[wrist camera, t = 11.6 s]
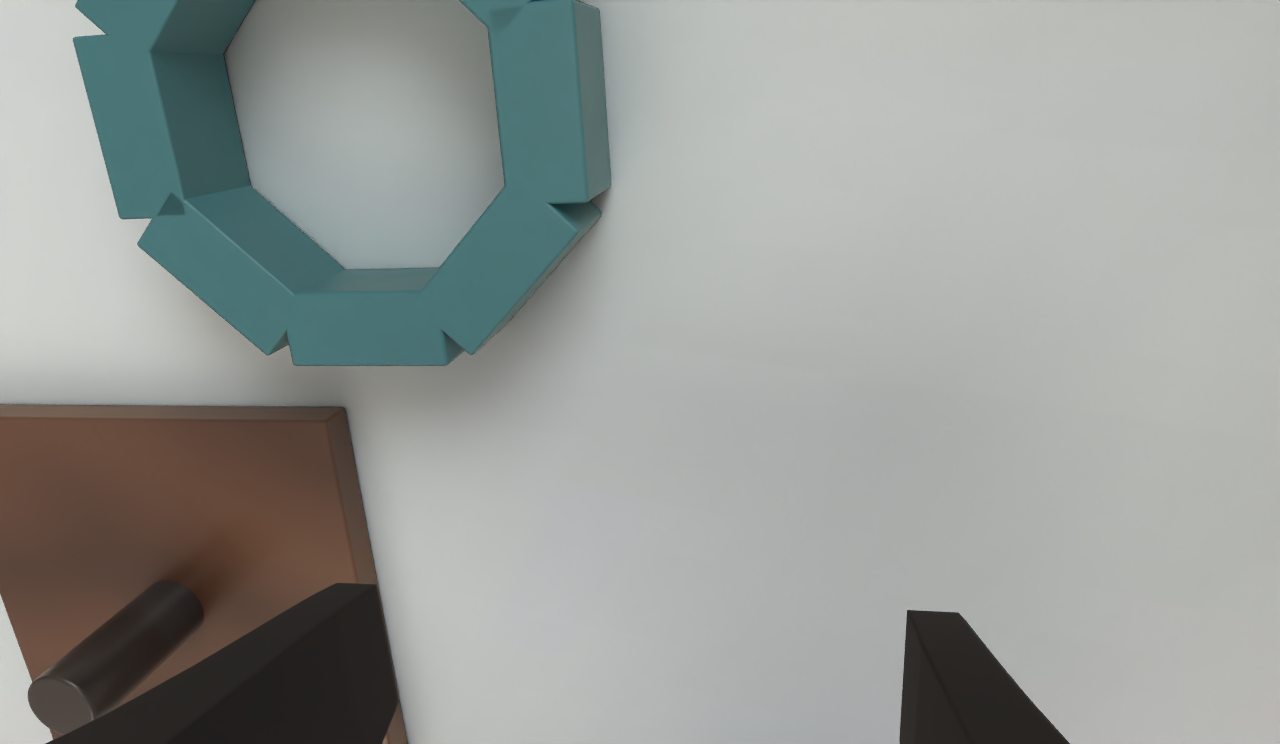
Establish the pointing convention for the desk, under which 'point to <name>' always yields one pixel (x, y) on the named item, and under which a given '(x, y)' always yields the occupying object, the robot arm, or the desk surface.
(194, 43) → the hoop
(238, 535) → the peg stand
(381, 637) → the robot arm
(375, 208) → the desk surface
